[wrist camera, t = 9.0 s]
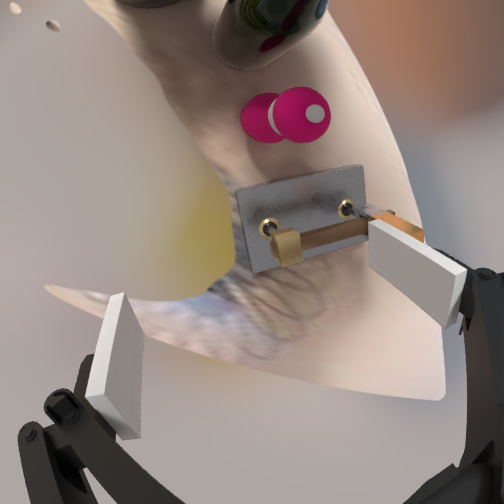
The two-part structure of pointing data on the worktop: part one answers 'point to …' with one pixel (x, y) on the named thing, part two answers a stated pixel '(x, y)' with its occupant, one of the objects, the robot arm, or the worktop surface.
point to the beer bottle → (263, 29)
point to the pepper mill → (286, 116)
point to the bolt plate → (299, 210)
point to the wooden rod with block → (312, 239)
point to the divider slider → (386, 220)
